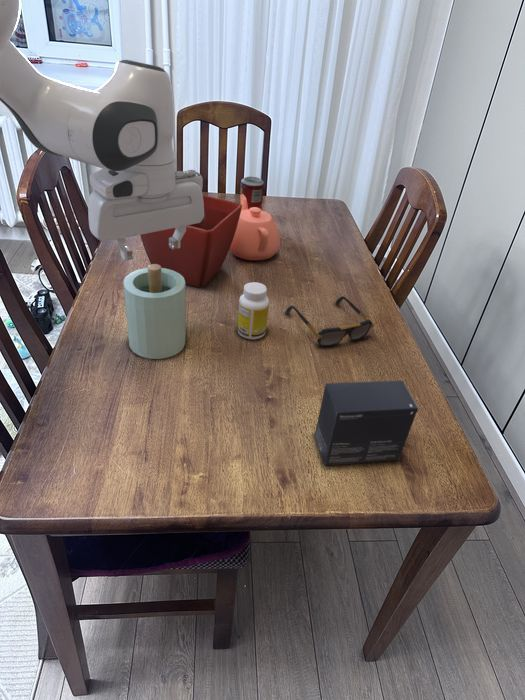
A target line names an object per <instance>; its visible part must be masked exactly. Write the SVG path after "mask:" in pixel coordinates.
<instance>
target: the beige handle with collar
mask: <svg viewBox="0 0 525 700" xmlns="http://www.w3.org/2000/svg"><path fill="white" fill-rule="evenodd" d="M147 268H148V278H149V293H161V292H162V271H161V266H160V265H158V264H151V263H150V264H149V265H148V266H147Z"/></svg>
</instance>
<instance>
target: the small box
mask: <svg viewBox="0 0 525 700" xmlns="http://www.w3.org/2000/svg"><path fill="white" fill-rule="evenodd" d="M323 390H324V391H323V395H322V399H321V404H320V408H319V412H318V417H317V422H316V428H315V432H314V439H315V442H316V445H317V448H318V451H319V455H320V457H321V460H322V463H323V465H324V466H339V465H340V466H341V465H352V464H353V465H355V464H366V463H377V462H378V463H379V462H380V463H381V462H392V461H393V462H394V461H400V460H401V455H402V453H403V450H404V448H405V445H406V443H407V439H408V436H409V434H410V431H411V428H412V426H413V424H414V420H415V418H416V415H417V413H418V411H419V407H418V404H417V403H416V401H415V399H414V398H413V396H412V395H411V392H410V390H409V389H408V387H407V385H406V383H404V381H403V380H385V381H384V380H382V381H381V380H379V381H378V380H377V381H356V382H355V381H353V382H327V383H325V385H324V389H323Z"/></svg>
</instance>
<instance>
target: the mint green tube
mask: <svg viewBox="0 0 525 700" xmlns="http://www.w3.org/2000/svg"><path fill="white" fill-rule="evenodd" d="M161 271H162V292H161V293H149V278H148V267H144V268H140V269H137V270H133V271H132V272H130V273H129V274H128V275H126V276H125V277H124V279H123V281H122V282H123V283H122V285H123V293H124V304H125V306H124V307H125V315H126V326H127V327H126V328H127V336H128V345H129V348H130V351H132V353H134V354H136V356H139V357H141V358H144V359H150V360H162V359H167V358H170V357H174V356H176V355H177V354H179V353H180V352H181V351H182V350H183V349H184V348H185V345H186V336H187V335H186V332H187V331H186V330H187V329H186V328H187V327H186V325H187V323H186V315H187V314H186V311H187V310H186V306H187V305H186V284H185V280H184V277H183V276H182V275H180V274H179V273H177V272H175V271H173V270H170V269H166V268H161Z"/></svg>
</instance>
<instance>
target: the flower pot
mask: <svg viewBox="0 0 525 700" xmlns="http://www.w3.org/2000/svg"><path fill="white" fill-rule="evenodd" d="M202 195H203V202H204V218H203V219H202V221H201V222H200V223H197V224H191V225H186V232H185V234H184V235H183V237H182V239H181V240H180V248H178V249H174V250H172V248H170V247H169V238H170V237H173V234H174V232H175V230H176V228H171V229H166V230H161V231H156V232H151V233H146V234H141V235H139V236H140V240H141V242H142V245H143V248H144V251H145V253H146V256H147V258H148V261H149V263H150V265H151V264H158V265H160V266H161V268H166V269H170V270H173V271H175V272H177V273H179V274H180V275H182V276H183V277H184V280H185V285H189V286H191V287H196V288H203V287H204V286H205V285H207V283H208V282H209V281H211V279H212V278H213V277H214V276H215V275H216V274H217V273H218V272H219V271H220V270H221V269H222V267H223V265H224V263H225V261H226V258H227V256H228V254H229V252H230V250H229V249H230V246H231V243H232V241H233V238H234V235H235V232H236V228H237V225H238V221H239V217H240V213H241V209H242V205H241V204H240V202H235V201H231V200H227V199H224V198H223V199H222V198H217V197H213V196H210V195H205V194H202Z"/></svg>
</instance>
